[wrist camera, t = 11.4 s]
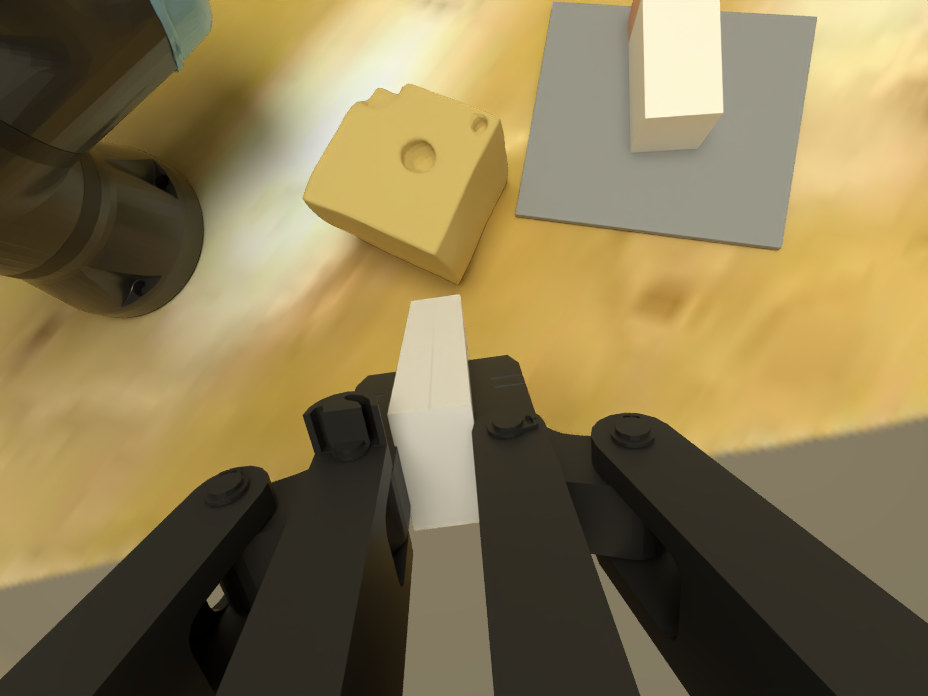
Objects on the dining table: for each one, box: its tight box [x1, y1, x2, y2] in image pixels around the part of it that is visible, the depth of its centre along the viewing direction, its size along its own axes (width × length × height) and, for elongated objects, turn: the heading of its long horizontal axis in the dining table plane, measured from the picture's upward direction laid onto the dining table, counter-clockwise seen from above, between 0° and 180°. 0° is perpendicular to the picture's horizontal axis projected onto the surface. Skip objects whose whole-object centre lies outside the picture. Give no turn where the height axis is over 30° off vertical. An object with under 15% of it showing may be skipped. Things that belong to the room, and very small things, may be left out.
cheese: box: [303, 84, 508, 284], centre depth 35 cm, size 10×11×10 cm
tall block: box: [628, 0, 723, 153], centre depth 35 cm, size 5×5×11 cm
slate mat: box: [515, 2, 817, 250], centre depth 38 cm, size 20×18×1 cm
